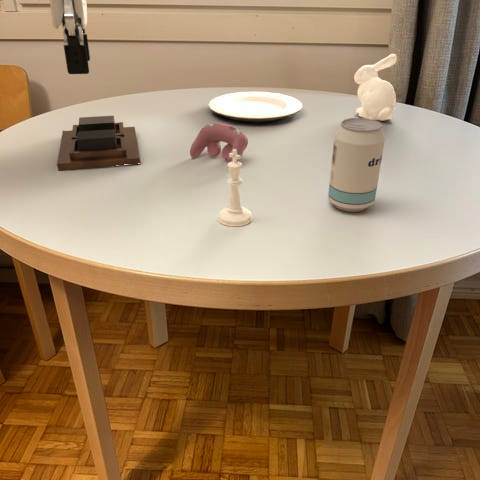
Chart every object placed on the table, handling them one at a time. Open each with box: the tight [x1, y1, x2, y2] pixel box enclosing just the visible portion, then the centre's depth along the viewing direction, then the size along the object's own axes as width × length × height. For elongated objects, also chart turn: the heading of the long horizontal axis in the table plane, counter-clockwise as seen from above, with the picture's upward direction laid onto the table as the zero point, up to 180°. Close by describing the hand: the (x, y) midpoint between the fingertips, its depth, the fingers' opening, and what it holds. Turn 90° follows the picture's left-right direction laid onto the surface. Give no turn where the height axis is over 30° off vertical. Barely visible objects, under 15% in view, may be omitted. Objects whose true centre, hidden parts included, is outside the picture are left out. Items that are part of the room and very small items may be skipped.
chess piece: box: [217, 149, 253, 227], centre depth 73 cm, size 5×5×10 cm
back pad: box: [77, 129, 117, 151], centre depth 94 cm, size 6×4×3 cm
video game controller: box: [189, 122, 249, 164], centre depth 94 cm, size 10×5×7 cm, turn 56°
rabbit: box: [353, 53, 398, 122], centre depth 113 cm, size 12×9×12 cm
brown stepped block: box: [56, 115, 142, 171], centre depth 97 cm, size 14×18×4 cm
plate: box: [208, 91, 303, 123], centre depth 118 cm, size 21×21×2 cm
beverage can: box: [327, 117, 386, 213], centre depth 76 cm, size 7×7×12 cm
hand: (79, 66), depth 86 cm, fingers open, 9 cm apart
